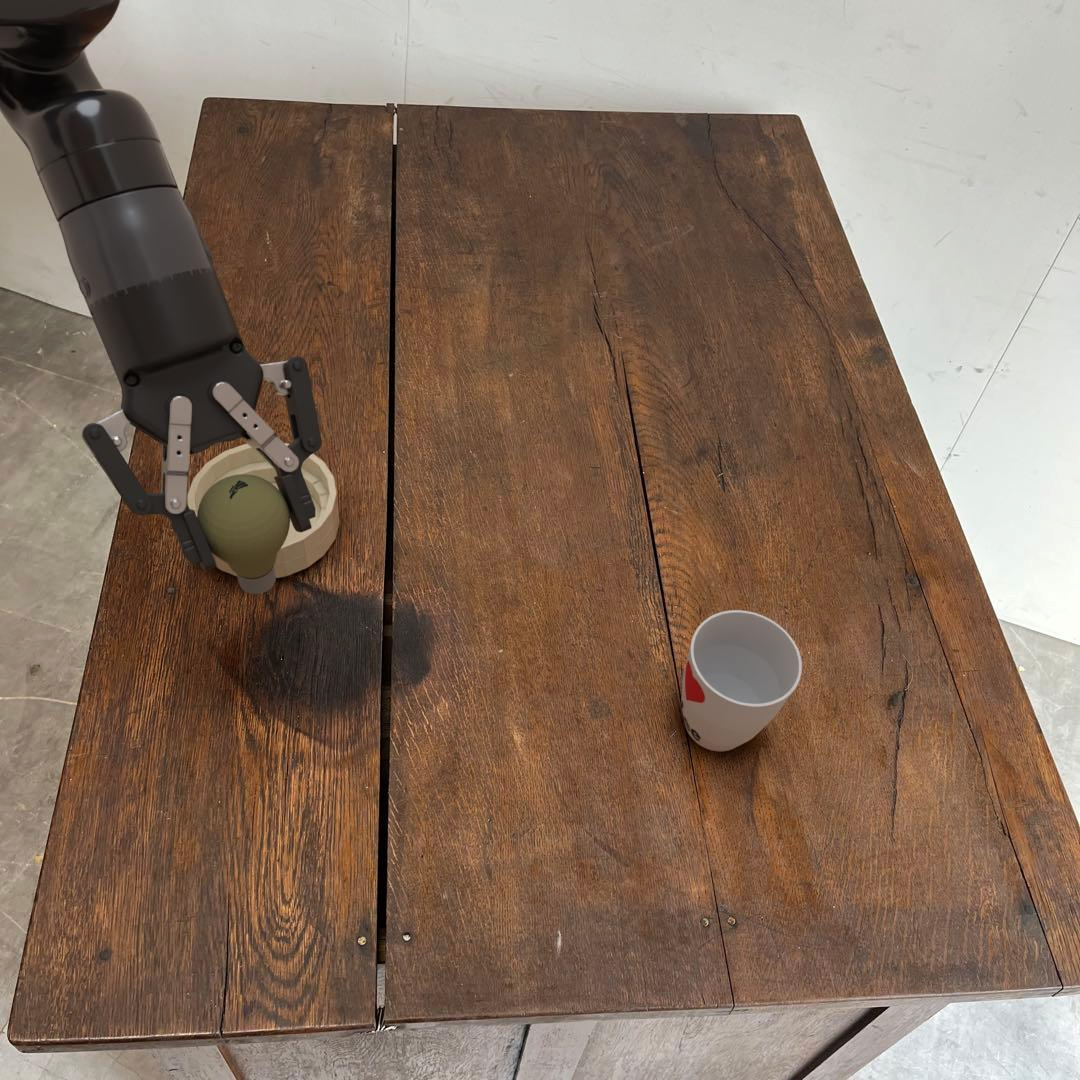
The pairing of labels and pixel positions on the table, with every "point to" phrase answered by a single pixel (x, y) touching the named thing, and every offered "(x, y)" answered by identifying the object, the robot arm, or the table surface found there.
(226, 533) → the light bulb
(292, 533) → the bowl
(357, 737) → the table surface
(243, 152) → the table surface
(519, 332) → the table surface
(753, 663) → the cup
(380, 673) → the table surface
